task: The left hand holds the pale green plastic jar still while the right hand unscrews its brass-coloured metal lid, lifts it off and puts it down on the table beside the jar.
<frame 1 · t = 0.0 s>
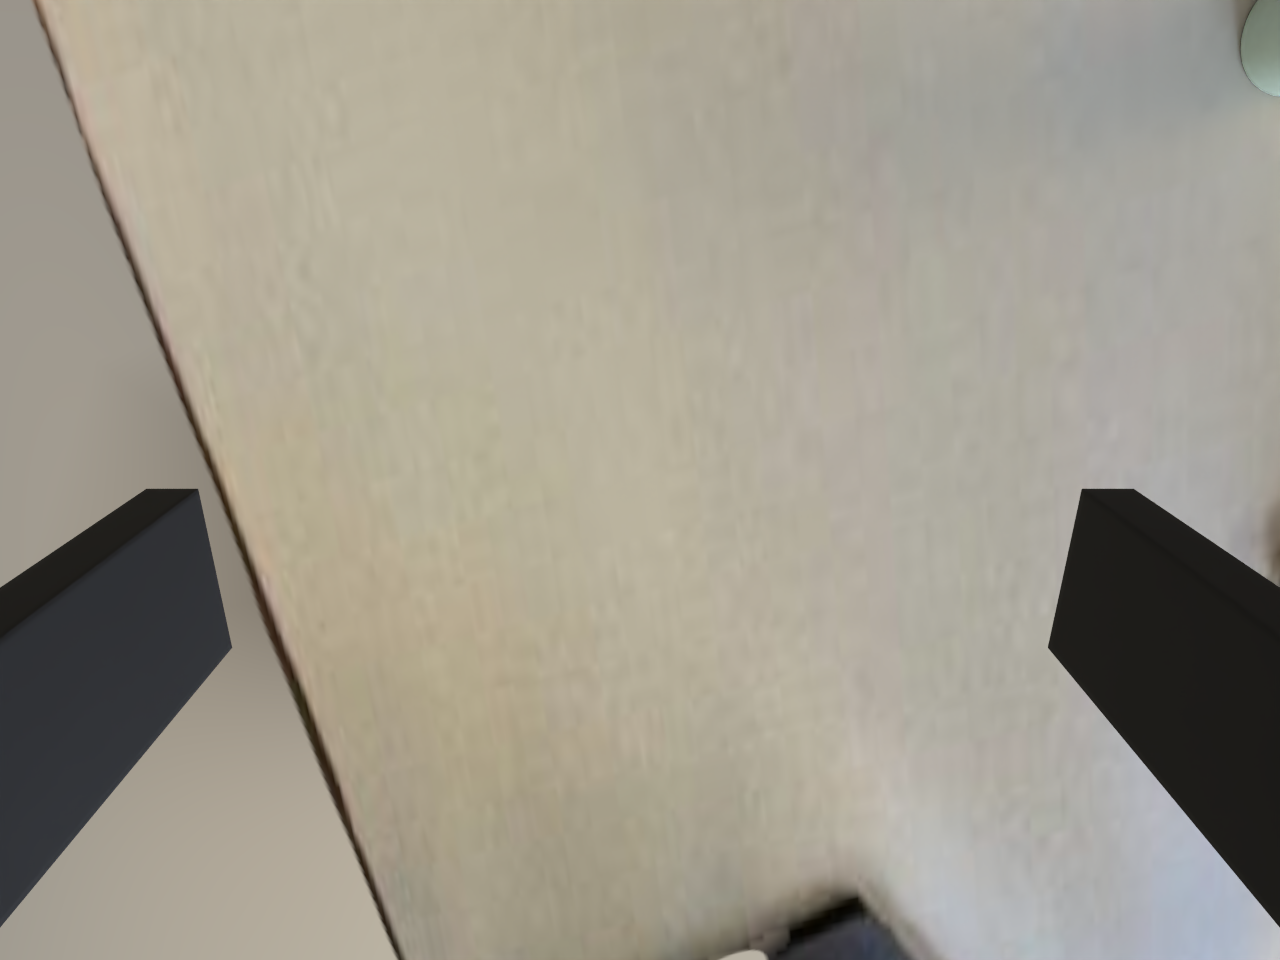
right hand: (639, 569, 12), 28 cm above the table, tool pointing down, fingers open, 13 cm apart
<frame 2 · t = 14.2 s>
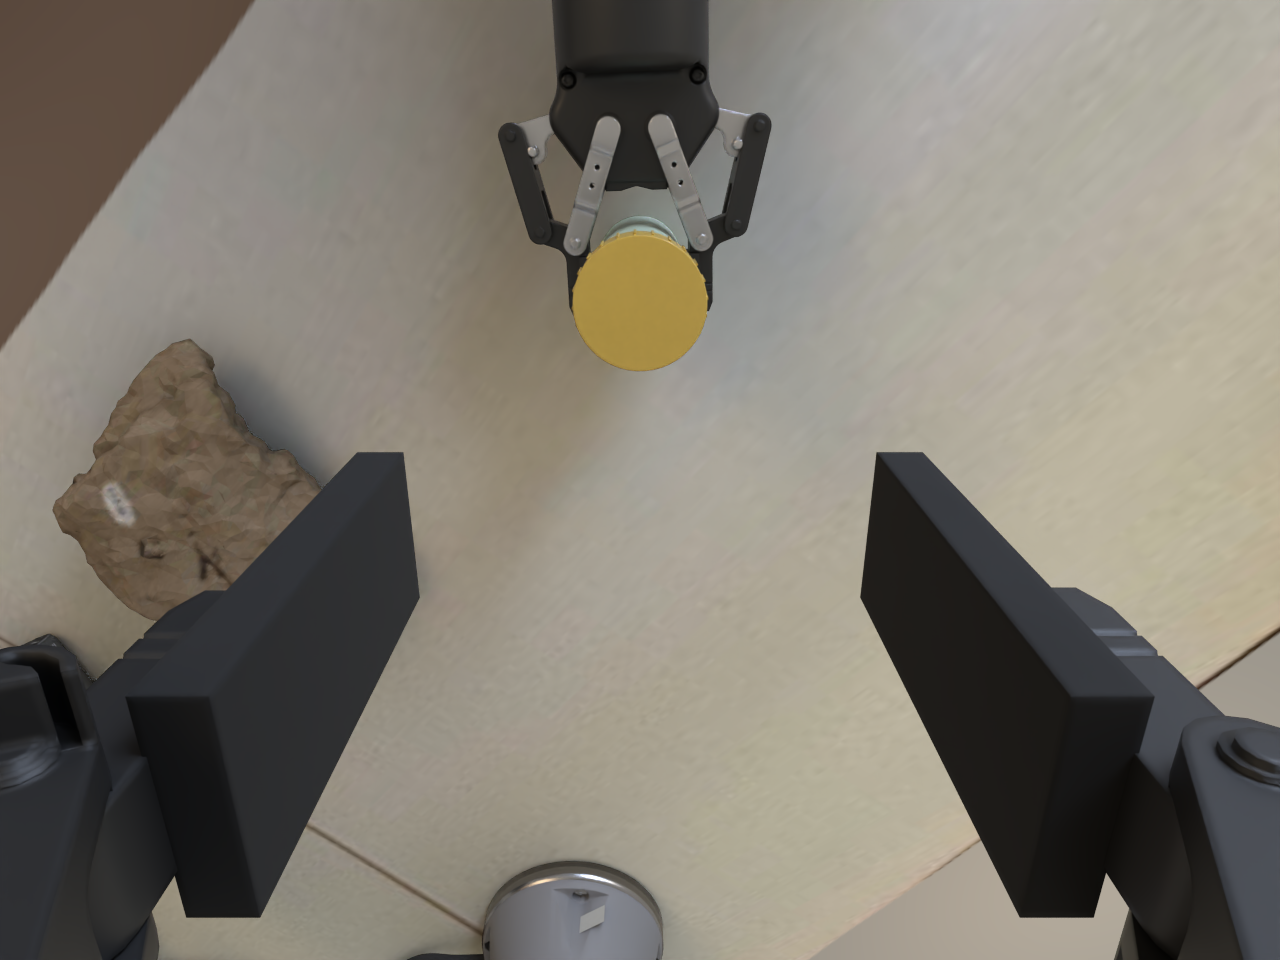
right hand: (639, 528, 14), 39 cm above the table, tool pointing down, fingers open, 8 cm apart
left hand: (641, 320, 45), fingers closed on jar, 5 cm apart
graphics card box: (93, 723, 63), on the table
jar: (639, 258, 50), on the table, touching left hand
lid: (639, 304, 35), point 17 cm above the table, screwed on, not yet turned
stone: (251, 510, 57), on the table
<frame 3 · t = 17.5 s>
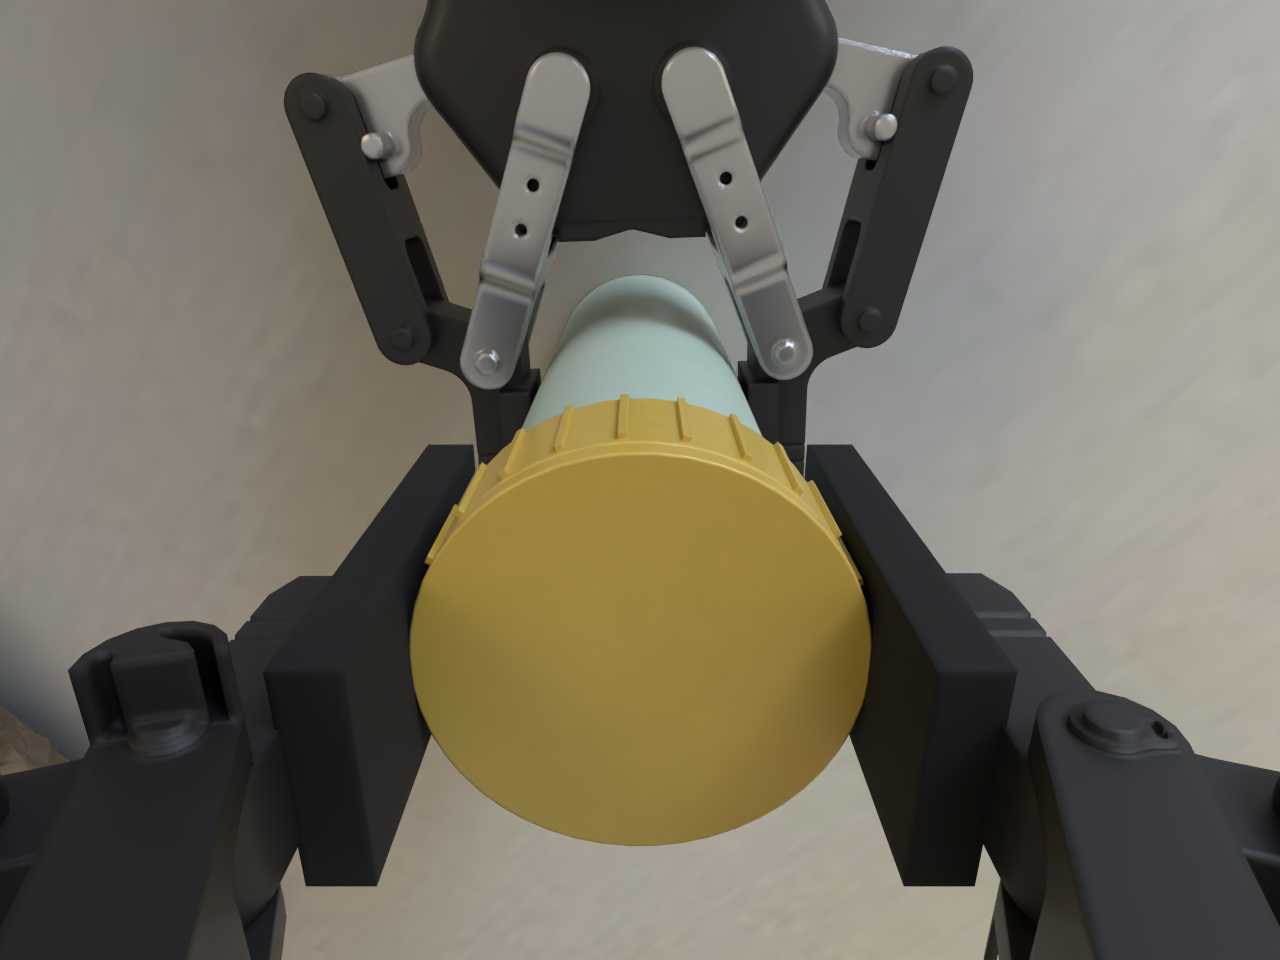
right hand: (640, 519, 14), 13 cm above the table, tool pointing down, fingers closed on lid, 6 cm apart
left hand: (642, 515, 21), fingers closed on jar, 5 cm apart
jar: (640, 355, 26), on the table, touching left hand
lid: (640, 654, 10), point 17 cm above the table, screwed on, not yet turned, touching right hand
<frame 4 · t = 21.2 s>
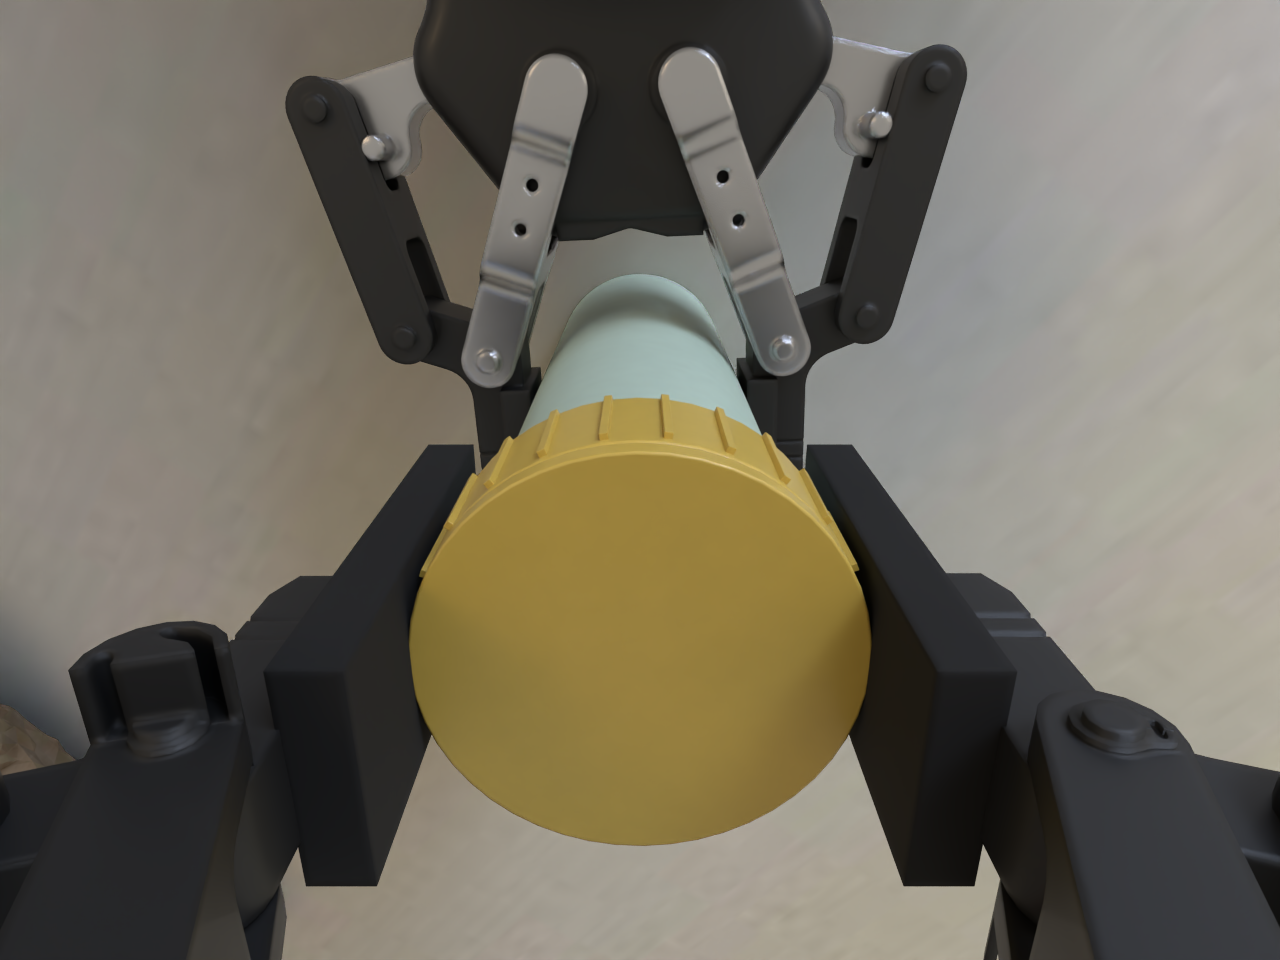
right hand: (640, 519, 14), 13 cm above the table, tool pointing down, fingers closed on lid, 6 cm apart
left hand: (643, 512, 21), fingers closed on jar, 5 cm apart
jar: (640, 353, 26), on the table, touching left hand
lid: (640, 653, 10), point 17 cm above the table, turned 124° so far, risen 0.2 cm, still on its thread, touching right hand
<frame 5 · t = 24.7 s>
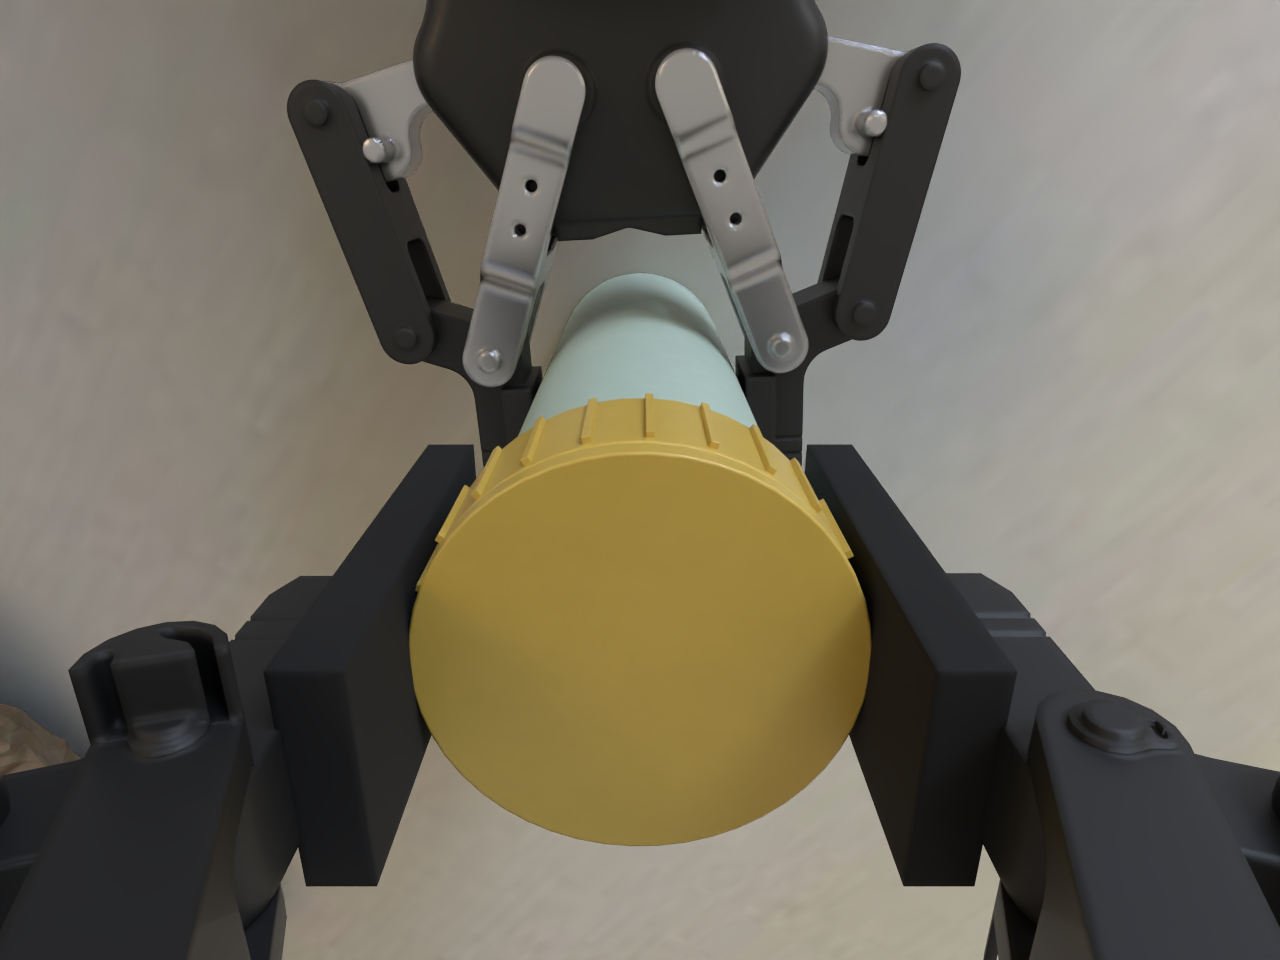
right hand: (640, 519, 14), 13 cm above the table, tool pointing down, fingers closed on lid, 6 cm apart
left hand: (644, 509, 21), fingers closed on jar, 5 cm apart
jar: (640, 352, 26), on the table, touching left hand
lid: (640, 654, 10), point 17 cm above the table, turned 248° so far, risen 0.4 cm, still on its thread, touching right hand
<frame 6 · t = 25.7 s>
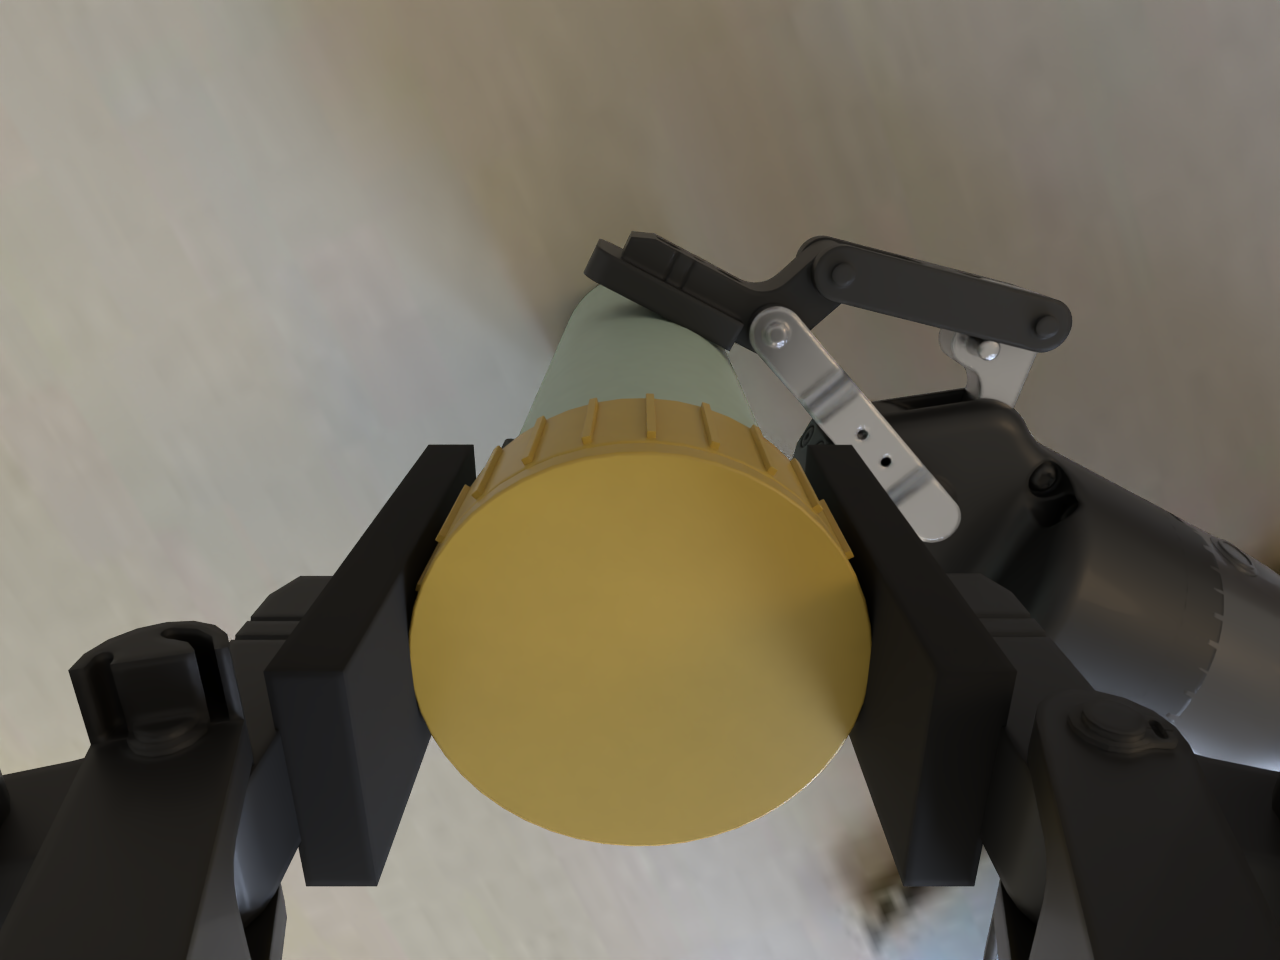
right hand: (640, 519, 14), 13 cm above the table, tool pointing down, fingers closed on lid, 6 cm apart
left hand: (545, 362, 20), fingers closed on jar, 5 cm apart
jar: (640, 351, 26), on the table, touching left hand
lid: (640, 654, 10), point 17 cm above the table, off its thread, touching right hand
when the right hand's fingers open (0 cm above the table, at t = 34.2 s): lid drops 2 cm, point 2 cm above the table.
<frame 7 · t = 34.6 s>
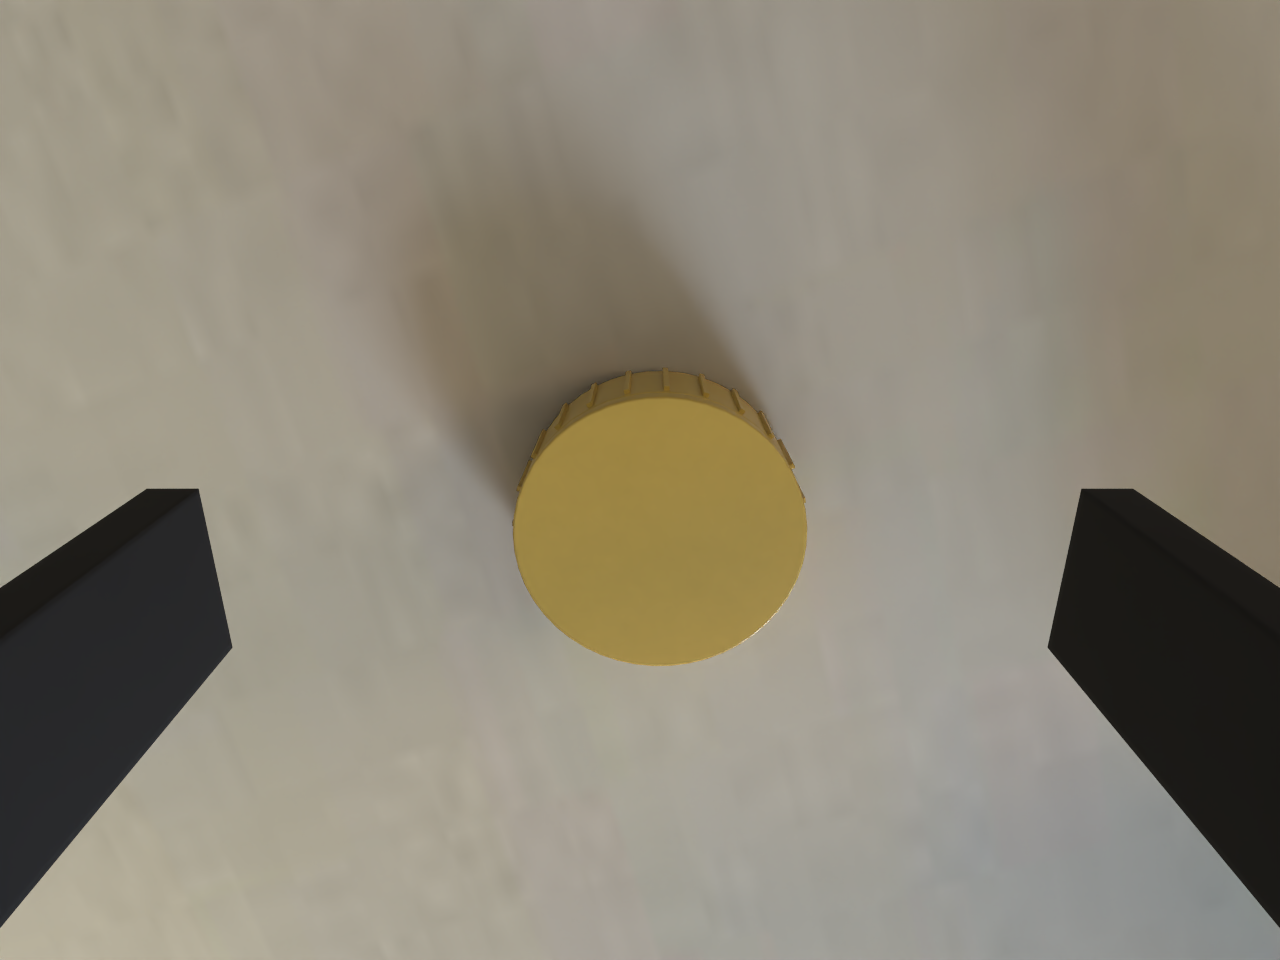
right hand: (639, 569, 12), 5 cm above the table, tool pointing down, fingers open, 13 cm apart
lid: (659, 532, 16), point 2 cm above the table, off its thread
when the left hand's fingers open (7 cm above the table, at t = 34.9 s): jar stays where it is, on the table.
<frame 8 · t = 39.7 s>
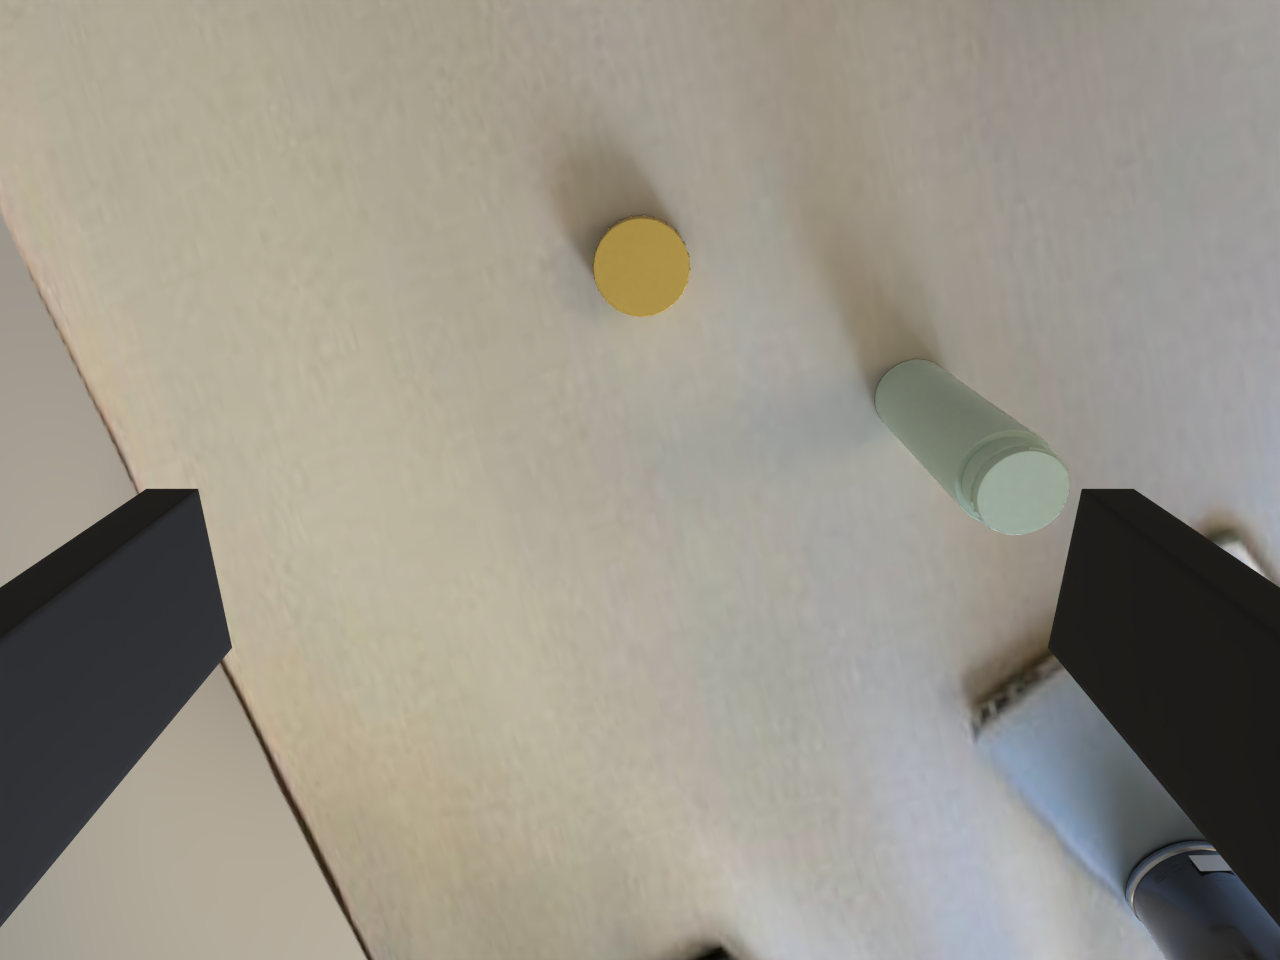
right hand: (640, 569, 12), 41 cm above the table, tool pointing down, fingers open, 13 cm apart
jar: (912, 396, 54), on the table
lid: (641, 267, 49), point 2 cm above the table, off its thread
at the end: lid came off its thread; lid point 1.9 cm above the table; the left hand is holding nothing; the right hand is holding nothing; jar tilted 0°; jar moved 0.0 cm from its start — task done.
